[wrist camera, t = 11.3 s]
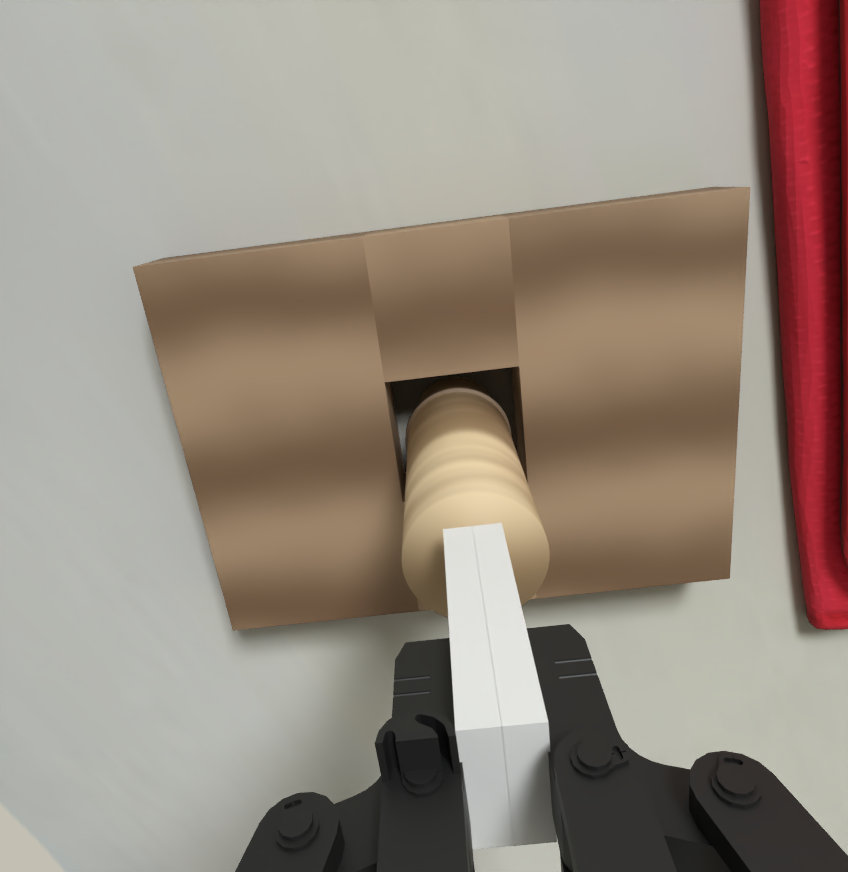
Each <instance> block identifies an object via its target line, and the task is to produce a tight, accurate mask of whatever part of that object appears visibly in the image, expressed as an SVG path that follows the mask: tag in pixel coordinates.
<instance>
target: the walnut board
mask: <svg viewBox="0 0 848 872" xmlns="http://www.w3.org/2000/svg"><path fill="white" fill-rule="evenodd" d="M749 200H750V187H709V188H701V189H694V190H686V191H678V192H671V193H663V194H655V195H647V196H640V197H632V198H624V199H617V200H609V201H601V202H593V203H586V204H578V205H570V206H563V207H555V208H547V209H539V210H532V211H524V212H516V213H508V214H501V215H493V216H485V217H478V218H470V219H462V220H454V221H447V222H439V223H431V224H424V225H416V226H408V227H400V228H393V229H385V230H377V231H370V232H362V233H354V234H346V235H339V236H331V237H323V238H316V239H308V240H300V241H292V242H285V243H277V244H269V245H262V246H254V247H246V248H238V249H231V250H223V251H215V252H208V253H200V254H192V255H184V256H177V257H169V258H162V259H159V260H156V261H152V262H149V263H145V264H142V265H138V266H135V267H133V270H134V274H135V277H136V281H137V285H138V288H139V292H140V295H141V299H142V303H143V306H144V310H145V313H146V317H147V321H148V324H149V328H150V332H151V335H152V339H153V342H154V346H155V350H156V353H157V357H158V360H159V364H160V368H161V371H162V375H163V379H164V382H165V386H166V389H167V393H168V397H169V400H170V404H171V408H172V411H173V415H174V418H175V422H176V426H177V429H178V433H179V436H180V440H181V444H182V447H183V451H184V455H185V458H186V462H187V465H188V469H189V473H190V476H191V480H192V484H193V487H194V491H195V494H196V498H197V502H198V505H199V509H200V512H201V516H202V520H203V523H204V527H205V531H206V534H207V538H208V541H209V545H210V549H211V552H212V556H213V559H214V563H215V567H216V570H217V574H218V578H219V581H220V585H221V588H222V592H223V596H224V599H225V603H226V607H227V610H228V614H229V617H230V621H231V625H232V628H233V630H242V629H251V628H261V627H270V626H280V625H289V624H299V623H308V622H318V621H328V620H337V619H347V618H356V617H366V616H375V615H385V614H394V613H404V612H414V611H423V610H431V609H429V608H428V607H427V606H425V605H424V604H423V603H422V602H421V601H420V600H419V599H418V598H417V597H416V596H415V595H414V594H413V592H412V591H411V589H410V588H409V586H408V584H407V582H406V579H405V577H404V573H403V569H402V541H403V523H404V504H405V486H406V472H405V473H404V466H403V459H402V452H401V445H400V439H399V432H398V425H397V418H396V411H395V405H394V398H393V391H392V384H391V382H392V381H400V380H409V379H417V378H425V377H434V376H442V375H450V374H459V373H467V372H475V371H484V370H492V369H501V368H509V367H511V372H512V385H513V398H514V411H515V424H516V437H517V449H518V457H519V460H520V463H521V466H522V469H523V471H524V474H525V477H526V480H527V483H528V486H529V488H530V491H531V494H532V497H533V500H534V503H535V506H536V508H537V511H538V514H539V517H540V520H541V523H542V525H543V528H544V531H545V534H546V537H547V540H548V544H549V551H550V560H549V566H548V571H547V574H546V577H545V579H544V581H543V583H542V585H541V586H540V588H539V589H538V591H537V592H536V593H535V594H534V596H533V597H532V598H531V599H538V598H547V597H557V596H566V595H576V594H586V593H595V592H605V591H614V590H624V589H633V588H643V587H652V586H662V585H672V584H681V583H691V582H700V581H710V580H719V579H729V578H730V563H731V544H732V525H733V506H734V487H735V468H736V448H737V429H738V410H739V391H740V372H741V353H742V334H743V314H744V295H745V276H746V257H747V238H748V219H749Z"/></svg>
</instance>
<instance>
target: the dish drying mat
mask: <svg viewBox="0 0 848 872" xmlns="http://www.w3.org/2000/svg"><path fill="white" fill-rule="evenodd" d="M760 21H761V43H762V58H763V70H764V83H765V92H766V100H767V109H768V118H769V135H770V154H771V171H772V187H773V206H774V226H775V242H776V257H777V273H778V289H779V311H780V332H781V349H782V367H783V380H784V391H785V402H786V412H787V429H788V453H789V470H790V478H791V487H792V496H793V505H794V513H795V521H796V530H797V538H798V546H799V554H800V562H801V571H802V581H803V588H804V595H805V601H806V605H807V618H808V620H809V622H810V623H811V624H812V625H813V626H814V627H815V628H817V629H825V630H830V629H848V0H760Z"/></svg>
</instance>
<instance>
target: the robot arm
mask: <svg viewBox="0 0 848 872" xmlns="http://www.w3.org/2000/svg"><path fill="white" fill-rule="evenodd" d="M443 537H444V554H445V570H446V587H447V603H448V620H449V636H450V638H446V639H436V640H426V641H416V642H407V643H405V645H404V646H403V648H402V650H401V651H400V653H399V655H398V656H397V658H396V660H395V674H394V681H395V682H394V692H393V695H394V698H393V710H392V718H391V719H389V720H388V721H387V722H386V723H385V724H384V726H383V727H382V728H381V729H380V730H379V732H378V735H377V739H376V742H375V747H376V752H377V757H378V762H379V767H380V772H381V777H380V778H379V779H378V780H377V781H376V783H374V784H373V785H372V786H371V787H369V788H368V789H367V790H365V791H363V792H361V793H359V794H357V795H356V796H353V797H351V798H348V799H346V800H343V801H341V802H338V803H336V804H333V803H332V802H331V801H330V800H329V799H328V798H327V797H326V796H323V795H320V794H317V793H314V792H307V793H297V794H294V795H292V796H289V797H287V798H284V799H282V800H281V801H280V802H278V803H277V804H276V805H275V806H273V807H272V808H271V809H269V811H268V812H267V813H266V815H265V816H264V818H263V819H262V820H261V822H260V823H259V825H258V827H257V829H256V831H255V833H254V835H253V837H252V839H251V841H250V843H249V845H248V847H247V849H246V851H245V853H244V855H243V857H242V859H241V861H240V863H239V865H238V867H237V869H236V871H235V872H475V869H474V862H473V849H483V848H494V847H505V846H517V845H528V844H539V843H550V842H557V839H558V844H559V849H560V857H561V871H562V872H848V855H847V854H846V853H845V852H844V851H843V850H842V849H841V848H840V847H839V846H838V844H837V843H836V842H835V841H834V840H833V839H832V838H831V837H830V836H829V835H828V833H827V832H826V831H825V830H824V829H823V828H822V827H821V826H820V825H819V824H818V822H817V821H816V820H815V819H814V818H813V817H812V816H811V815H810V814H809V813H808V811H807V810H806V809H805V808H804V807H803V806H802V805H801V804H800V803H799V802H798V800H797V799H796V798H795V797H794V796H793V795H792V794H791V793H790V792H789V791H788V789H787V788H786V787H785V786H784V785H783V784H782V783H781V782H780V781H779V780H778V778H777V777H776V776H775V775H774V774H773V773H772V772H770V771H769V770H768V769H767V768H766V767H764V766H763V765H762V764H761V763H760V762H758V761H756V760H754V759H751V758H749V757H747V756H745V755H743V754H739V753H733V752H727V751H720V752H712V753H707V754H706V755H704V756H702V757H700V758H699V759H697V760H696V761H695V763H694V764H693V766H692V768H691V769H684V768H679V767H674V766H668V765H663V764H660V763H656V762H653V761H650V760H648V759H646V758H644V757H642V756H640V755H638V754H637V753H636V752H634V751H633V750H632V749H630V748H629V746H628V745H627V744H626V743H625V742H624V741H623V740H622V739H621V737H620V735H619V733H618V731H617V728H616V726H615V723H614V720H613V717H612V714H611V712H610V709H609V706H608V703H607V700H606V697H605V695H604V692H603V689H602V686H601V683H600V681H599V678H598V676H597V673H596V669H595V667H594V664H593V661H592V660H591V655H590V653H589V650H588V647H587V644H586V641H585V639H584V638H583V637H582V636H581V635H580V634H579V633H578V632H577V631H576V630H575V629H574V628H573V627H572V626H571V625H570V624H566V625H556V626H546V627H537V628H526V624H525V620H524V616H523V611H522V607H521V603H520V599H519V594H518V590H517V586H516V581H515V577H514V573H513V569H512V564H511V560H510V556H509V552H508V547H507V543H506V539H505V534H504V530H503V526H502V523H495V524H486V525H477V526H468V527H459V528H450V529H443ZM556 834H557V836H556Z"/></svg>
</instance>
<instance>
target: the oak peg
mask: <svg viewBox="0 0 848 872" xmlns="http://www.w3.org/2000/svg"><path fill="white" fill-rule="evenodd" d="M405 440H406V449H407V468H406V486H405V504H404V523H403V541H402V569H403V573H404V577H405V579H406V582H407V584H408V586H409V588H410V589H411V591H412V592H413V594H414V595H415V596H416V597H417V598H418V599H419V600H420V601H421V602H422V603H423V604H424V605H425V606H427V607H428V608H429V609H431V610H433V611H434V612H436V613H438V614H441V615H443V616H445V617H448V603H447V587H446V570H445V554H444V537H443V529H450V528H459V527H468V526H477V525H486V524H495V523H502V526H503V530H504V534H505V539H506V543H507V547H508V552H509V556H510V560H511V564H512V569H513V573H514V577H515V581H516V586H517V590H518V594H519V599H520V603H521V606H523V605H524V604H525V603H526V602H528V601H529V600H530V599H531V598H532V597H533V596H534V594H535V593H536V592H537V591H538V589H539V588H540V586H541V585H542V583H543V581H544V579H545V577H546V574H547V571H548V566H549V560H550V551H549V544H548V540H547V537H546V534H545V531H544V528H543V525H542V523H541V520H540V517H539V514H538V511H537V508H536V506H535V503H534V500H533V497H532V494H531V491H530V488H529V486H528V483H527V480H526V477H525V474H524V471H523V469H522V466H521V463H520V460H519V457H518V454H517V452H516V449H515V446H514V443H513V440H512V437H511V428H510V424H509V421H508V418H507V416H506V414H505V412H504V411H503V409H502V407H501V406H500V405H499V404H498V403H497V402H496V401H495V400H494V399H493V398H492V397H490V396H489V395H488V393H487V392H486V391H485V389H484V388H483V387H482V386H480V385H479V384H478V383H476V382H475V381H473V380H470V379H468V378H464V377H447V378H443V379H440V380H438V381H436V382H434V383H433V384H431V385H430V386H429V387H428V388H427V389H426V390H425V391H424V392H423V394H422V395H421V397H420V399H419V402H418V405H417V407H416V408H415V410H414V411H413V413H412V414H411V416H410V418H409V421H408V424H407V429H406V439H405Z"/></svg>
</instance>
